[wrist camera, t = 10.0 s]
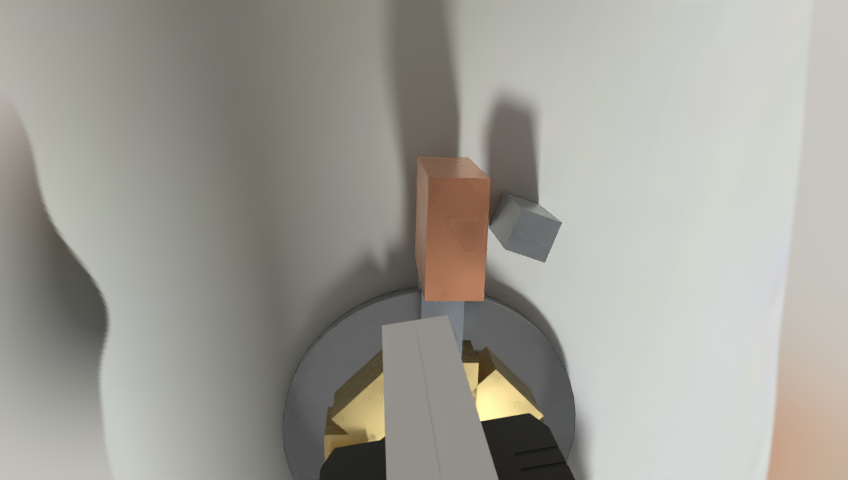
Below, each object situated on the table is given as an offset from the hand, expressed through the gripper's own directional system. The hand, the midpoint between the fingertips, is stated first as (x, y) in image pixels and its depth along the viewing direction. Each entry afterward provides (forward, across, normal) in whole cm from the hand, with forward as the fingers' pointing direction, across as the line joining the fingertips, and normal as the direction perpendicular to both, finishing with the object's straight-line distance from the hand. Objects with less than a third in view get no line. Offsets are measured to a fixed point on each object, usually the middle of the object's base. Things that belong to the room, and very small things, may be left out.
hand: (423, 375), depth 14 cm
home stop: (+18, +6, -1) cm, 19 cm away
